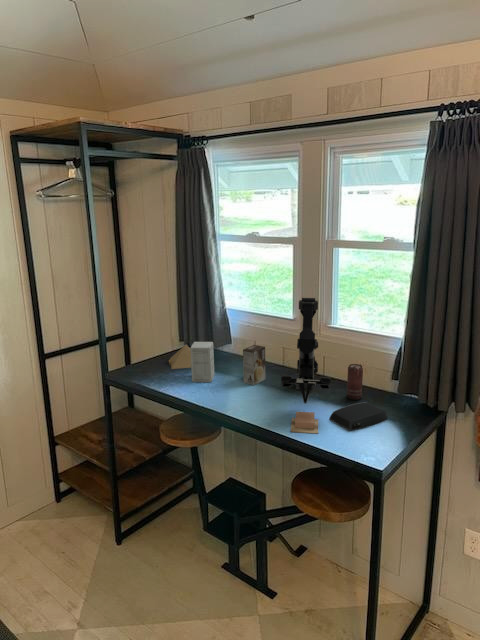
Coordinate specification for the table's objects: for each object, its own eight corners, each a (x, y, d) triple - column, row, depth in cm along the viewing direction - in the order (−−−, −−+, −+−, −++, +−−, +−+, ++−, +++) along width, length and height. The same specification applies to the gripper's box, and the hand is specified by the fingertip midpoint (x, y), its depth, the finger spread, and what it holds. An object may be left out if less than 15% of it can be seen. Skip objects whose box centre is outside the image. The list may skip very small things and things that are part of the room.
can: (351, 401, 205) (352, 369, 201) (344, 395, 210) (345, 364, 207) (364, 399, 206) (366, 367, 202) (357, 393, 212) (358, 362, 208)
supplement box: (214, 375, 235) (214, 341, 231) (211, 382, 226) (210, 347, 222) (195, 374, 236) (193, 341, 232) (191, 382, 227) (189, 347, 223)
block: (296, 411, 189) (295, 422, 181) (314, 412, 188) (314, 423, 180) (296, 417, 190) (295, 428, 181) (314, 418, 189) (314, 429, 180)
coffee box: (254, 376, 233) (254, 344, 229) (265, 379, 229) (265, 346, 225) (243, 382, 226) (242, 349, 222) (254, 385, 222) (254, 351, 218)
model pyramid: (168, 359, 260) (167, 341, 257) (200, 356, 263) (200, 338, 260) (169, 370, 244) (168, 350, 241) (204, 367, 247) (203, 348, 244)
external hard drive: (327, 419, 190) (327, 409, 188) (365, 408, 199) (365, 399, 198) (350, 433, 179) (351, 423, 178) (389, 421, 188) (390, 411, 187)
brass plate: (291, 418, 190) (291, 417, 190) (318, 420, 188) (318, 419, 188) (290, 432, 179) (290, 431, 179) (318, 433, 178) (318, 432, 178)
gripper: (329, 374, 198) (329, 411, 191) (283, 372, 201) (281, 409, 193) (330, 362, 189) (330, 401, 181) (282, 361, 192) (279, 398, 184)
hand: (305, 403), depth 185 cm, fingers closed
